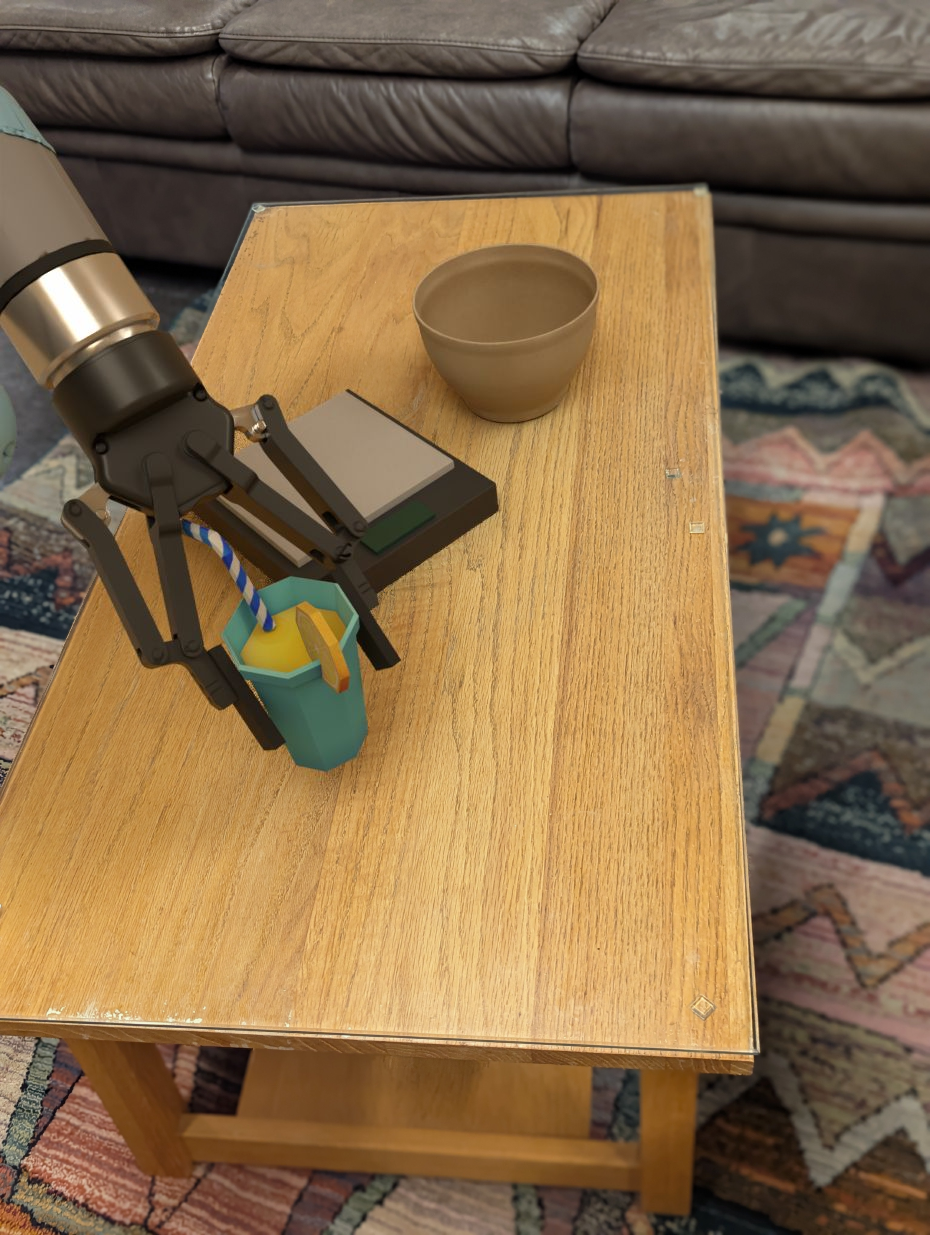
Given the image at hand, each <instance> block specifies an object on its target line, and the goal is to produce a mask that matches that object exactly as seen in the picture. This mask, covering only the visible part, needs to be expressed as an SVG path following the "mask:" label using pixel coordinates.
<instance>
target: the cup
mask: <svg viewBox="0 0 930 1235" xmlns="http://www.w3.org/2000/svg"><path fill="white" fill-rule="evenodd" d="M180 521H181V528H182V529H181V534H182V536H183V535H184V536H186V537H188V538H190V539H192V540H195V541H197V542H199V543H201V544H204V545H206V546H208V547H210V548H211V549H213V550H214V552H215V553H216V554H218V556H219V557H220V559H221V561H222V563H223V564H224V566H225V568H226V570H227V571H228V572H229V574H230V576H231V578H232V579H233V581H234V582H235V584H236V586H237V588H238V590H239V591H240V593H241V594H242V597H241V600H240V601H239V603H238V605H237V607H236V608H235V610H234V611H233V613H232V615H231V617H230V618H229V620H228V621H227V623H226V625H225V627H224V628H223V630H222V632H221V634H220V637H221V639H222V640H223V643H224V644H225V646H226V648H227V650H228V652H229V654H230V656H231V659H232V661H233V663H234V664H235V666H236V667H237V669H238V670H239V672H240V673H241V675H242V676H243V678H244V679H245V681H249V682H250V683H251V685H252V687H253V689H254V690H255V692H256V694H257V697H258V698H259V699H260V700H259V701H260V703H261V704H262V706H263V708H264V709H265V711H266V712H267V714H268V715H269V717H270V718H271V720H272V721H273V723H274V724H275V726H276V727H277V729H278V730H279V732H280V733H281V735H282V736H283V738H284V739H285V741H286V743H285V744H284V745H285V748H286V749H287V752H288V753H289V755H290V757H291V759H292V761H293V763H294V764H295V766H297V767H301V768H307V769H310V770H311V769H312V770H314V771H315V770H316V771H321V772H325V773H327V772H329V771H332V770H334V769H335V768H337V767H339V766H341V765H344V764H346V763H348V762H350V761H352V760H354V759H357V757H358V755H359V753H360V750H361V749H362V747H363V744H364V742H365V739H366V737H367V735H368V733H369V727H368V719H367V718H368V717H367V711H366V703H365V694H364V686H363V679H362V673H361V672H362V671H361V665H360V664H361V663H360V657H359V647H358V642H357V640H356V634H357V632H358V630H359V616H358V614H357V612H356V611H355V609H354V608H353V606H352V605H351V603H350V602H349V600H348V599H347V597H346V596H345V594H344V592H343V591H342V589H341V588H340V586H339V585H338V584H336V583H330V582H324V581H317V580H311V579H305V578H298V577H292V576H290V577H288V578H285V579H283V580H281V581H278V582H276V583H275V582H273V583H271V584H269V585H267V586H264V587H262V588H259V589H258V590H256V588H255V586H254V585H253V582H252V581H251V579H250V578H249V576H248V573H246V570H245V569H244V568H243V566H242V564H241V562H240V560H239V559H238V557H237V556H236V554H235V552H234V550H233V548H232V546H230V544H229V543H228V542H227V541H226V540H225V539H224V538H223V537H221V536H220V534H218V533H217V532H216V531H214V530H213V529H210V528H208V527H205V526H202V525H200V524H198V523H196V522H192V521H190V520H187V519H185V518H181V519H180Z"/></svg>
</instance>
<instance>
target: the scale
mask: <svg viewBox="0 0 930 1235" xmlns="http://www.w3.org/2000/svg"><path fill="white" fill-rule="evenodd" d="M286 424H287V426H288V429H289V430H290V431H291V432H292V433H293V435H294V436H295V437H296V438H297V439H298V440H299V442H300V443H301V444H302V445H303V446H304V448H305V449H306V450H307V451H308V452H309V453H310V455H311V456H312V457H313V458H314V459H315V461H316V462H317V463H318V464H319V465H320V466H321V468H322V469H323V470H324V471H325V472H326V474H327V475H328V476H329V477H330V478H331V479H332V481H333V482H334V483H335V484H336V485H337V486H338V488H339V489H340V490H341V491H342V492H343V494H344V495H345V496H346V497H347V498H348V499H349V501H350V502H351V503H352V504H353V505H354V507H355V508H356V509H357V510H358V511H359V512H360V514H361V515H362V516H363V517H364V518H365V519H366V521H367V522H368V525H369V530H368V532H367V534H366V535H364V536H363V538H362V539H361V540H360V542H359V543H358V544H357V546H356V547H355V553H354V555H353V556H354V560H355V562H356V564H357V565H358V567H359V568H360V570H361V571H362V573H363V574H364V576H365V578H366V579H367V581H368V582H369V584H370V585H371V587H372V588H373V590H374V591H375V593H376V595H377V594H379V593H380V592H381V591H383V590H385V589H386V588H387V587H389V586H390V585H392V584H393V583H395V582H396V581H398V580H399V579H400V578H402V577H404V576H406V574H408V573H409V572H411V571H412V570H414V569H415V568H417V567H418V566H420V565H421V564H422V563H424V562H425V561H427V560H429V559H430V558H431V557H433V556H434V555H436V554H437V553H439V552H440V551H442V550H444V549H445V548H446V547H447V546H449V545H450V544H452V543H453V542H455V541H456V540H458V539H459V538H461V537H462V536H464V535H465V534H467V533H468V532H470V531H471V530H472V529H474V528H476V527H477V526H478V525H480V524H481V523H483V522H484V521H486V520H488V519H489V518H490V517H491V516H493V515H494V514H496V513H497V512H499V511H500V508H499V500H498V490H497V483H496V482H495V481H493V480H492V479H491V478H489V477H487V476H486V475H484V474H482V473H481V472H479V471H478V470H476V469H474V468H473V467H471V466H470V465H469V464H467V463H466V462H464V461H463V460H461V459H459V458H457V457H456V456H454V455H453V454H451V453H450V452H448V451H446V450H445V449H444V448H442V447H440V446H439V445H437V444H435V443H434V442H432V441H431V440H429V439H428V438H426V437H424V436H423V435H422V434H420V433H419V432H417V431H416V430H414V429H412V428H410V427H409V426H408V425H406V424H405V423H402V422H401V421H400V420H398V419H396V418H395V417H393V416H392V415H390V414H389V413H387V412H386V411H384V410H382V409H381V408H379V407H378V406H376V405H374V404H373V403H371V402H370V401H368V400H367V399H366V398H363V397H362V396H360V395H359V394H358V393H356V392H354V391H353V390H351V389H350V388H347V389H345V390H343V391H341V392H339V393H337V394H336V395H334V396H332V397H331V398H329V399H327V400H326V401H323V402H322V403H320V404H318V405H317V406H314V407H312V408H311V409H309V410H308V411H306V412H304V413H303V414H301V415H299V416H298V417H296V418H294V419H292V420H290V421H289V422H286ZM234 457H235V458H237V459H238V460H239V461H241V462H242V463H244V464H245V465H246V466H248V467H249V468H250V469H252V470H253V471H254V472H255V473H256V474H257V476H258V478H259V479H260V480H261V481H263V482H264V483H266V484H267V485H268V486H270V487H271V488H272V489H274V490H275V491H276V492H278V493H279V494H280V495H282V496H283V497H284V498H286V499H287V500H288V501H290V502H291V503H293V504H294V505H295V506H297V507H298V508H299V509H301V510H302V511H303V512H305V513H306V514H307V515H309V516H310V517H311V518H313V519H314V520H315V521H317V522H318V523H320V524H321V525H322V526H324V527H325V528H326V529H328V530H329V531H330V532H332V531H331V530H330V529H329V528H328V527H327V526H326V524H325V523H324V522H323V521H322V520H321V519H320V517H319V516H318V515H317V514H316V513H315V512H314V510H313V509H312V508H311V507H310V506H309V505H308V503H307V502H306V501H305V500H304V499H303V498H302V496H301V495H300V494H299V493H298V492H297V491H296V489H295V488H294V487H293V486H292V485H291V484H290V482H289V481H288V480H287V479H286V478H285V477H284V475H283V474H282V473H281V472H280V471H279V470H278V468H277V467H276V466H275V465H274V464H273V463H272V461H271V460H270V459H269V458H268V457H267V455H266V454H265V453H264V451H263V450H262V448H261V446H260V444H259V442H258V443H254V442H251V443H250V444H249V445H246V446H245V447H243V448H242V449H239V450H238V451H236V452H234ZM190 512H192V513H194V515H196V516H197V517H198V518H199V519H200V520H201V521H202V522H204V523H205V524H206V525H207V526H208V527H210V528H211V530H213V531H216V532H217V533H218V534H220V536H221V537H222V538H223V539H224V540H225V541H226V543H227V544H228V545H231V547H233V548H234V549H235V550H236V551H237V552H238V553H240V554H241V555H242V556H243V557H244V558H246V559H247V560H248V561H249V562H250V563H251V564H253V565H254V567H256V568H257V569H258V570H260V572H262V573H263V574H264V575H265V576H267V577H268V578H269V579H270V580H271V581H272V582H273V583H276V582H278V581H281V580H283V579H285V578H288V577H290V576H292V577H298V578H305V579H311V580H318V579H320V578H321V577H323V576H324V575H326V574H327V573H329V571H328V569H327V568H325V567H323V566H322V565H320V564H319V563H318V562H316V561H315V560H314V559H312V558H311V557H309V556H308V555H307V554H305V553H304V552H303V551H301V550H300V549H298V548H297V547H296V546H294V545H293V544H292V543H290V542H289V541H287V540H286V539H285V538H283V537H282V536H281V535H279V534H278V533H276V532H275V531H274V530H272V529H271V528H270V527H268V526H267V525H265V524H264V523H263V522H261V521H260V520H259V519H257V518H256V517H254V516H253V515H252V514H250V513H249V512H248V511H246V510H245V509H244V508H242V507H241V506H239V505H237V504H234V503H231V502H230V501H228V500H227V499H225V498H224V497H223V496H221V495H220V496H219V497H217V498H215V499H213V500H212V501H210V502H206V503H202V504H199V505H196V506H195V507H194V508H193V509H192V510H191V511H190Z"/></svg>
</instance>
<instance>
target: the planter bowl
mask: <svg viewBox="0 0 930 1235" xmlns="http://www.w3.org/2000/svg"><path fill="white" fill-rule="evenodd" d="M599 296H600V279H599V275H598V274H597V272H596V270H595V268H594V267H593V266H592V264H590V263H589V262H588V261H587V260H586V259H584V258H583V257H581V256H580V255H578V254H576V253H575V252H572V251H570V250H568V249H565V248H562V247H558V246H555V245H548V244H545V243H544V244H543V243H537V242H536V243H535V242H505V243H504V242H503V243H496V244H489V245H484V246H480V247H475V248H471V249H469V250H465V251H463V252H461V253H458V254H455V255H454V256H450V257H449V258H447V259H445V260H443V261H441V262H440V263H437V264H436V265H434V266H433V267H432V268H431V269H429V270H428V271H427V272H426V273H425V274H424V275H423V276H422V277H421V278H420V279H419V281H418V282H417V283H416V286H415V287H414V290H413V293H412V297H411V308H412V312H413V316H414V319H415V321H416V323H417V326H418V330H419V333H420V337H421V341H422V343H423V346H424V348H425V352H426V354H427V356H428V357H429V359H430V361H431V363H432V365H433V367H435V370H436V371H437V372H438V374H439V375H440V377H441V379H443V381H445V383H446V384H447V385H448V386H449V387H450V388H451V389H452V390H453V391H454V392H455V393H456V394H457V395H458V396H459V397H461V398H462V399H463V401H464V403H465V405H466V406H467V408H468V409H469V411H471V413H473V414H474V415H476V416H478V417H480V418H482V419H484V420H488V421H491V422H498V423H517V422H518V423H519V422H525V421H529V420H534V419H536V418H539V417H541V416H544V415H546V414H547V413H549V412H551V411H552V410H554V409H555V408H556V406H558V405H559V404H560V403H561V402H562V400H563V399H564V396H565V394H566V391H567V386H569V384H570V383H571V382H572V381H573V379H574V378H575V376H576V375H577V373H578V371H579V370H580V368H581V366H582V365H583V363H584V361H585V359H586V357H587V354H588V352H589V349H590V346H591V343H592V340H593V337H594V332H595V326H596V319H597V305H598V302H599Z"/></svg>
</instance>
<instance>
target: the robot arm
mask: <svg viewBox="0 0 930 1235" xmlns="http://www.w3.org/2000/svg"><path fill="white" fill-rule="evenodd" d="M160 320H161V317H160V314H159V313H158V310H156V308H155V307H154V305H153V304H152V303H151V301H150V299H149V298H148V297H147V295H146V293H145V292H144V290H143V289H142V287H141V286H140V285H139V283H138V282H137V280H136V279H135V276H134V275H133V274H132V273H131V271H130V269H129V268H128V267H127V265H126V264H125V262H124V261H123V259H122V258H121V256H120V255H119V254H118V252H117V251H116V249H115V248H114V245H112V243H111V242H110V240H109V239H108V237H107V235H106V234H105V232H104V231H103V229H102V228H101V226H100V225H99V223H98V221H97V219H96V218H95V217H94V214H93V213H92V212H91V210H90V209H89V207H88V205H87V204H86V202H85V200H84V199H83V197H82V195H81V194H80V193H79V191H78V189H77V188H76V187H75V185H74V183H73V181H72V180H71V178H70V177H69V175H68V174H67V172H66V171H65V169H64V168H63V166H62V164H61V162H60V161H59V159H58V154H57V151H55V148H54V147H53V146H52V145H51V144H50V143H49V142H48V141H47V140H46V139H45V138H44V136H43V135H42V134H41V132H40V131H39V129H38V128H37V127H36V125H35V124H34V123H33V122H32V120H31V118H30V117H29V116H28V114H27V113H26V111H25V110H24V109H23V107H21V105H20V104H19V102H17V100H16V99H15V97H14V96H13V95H12V94H11V93H10V92H9V91H8V90H7V89H5V87H3V86H2V85H0V328H1V329H2V330H3V332H4V333H5V335H6V336H7V338H8V340H9V341H10V343H11V344H12V346H13V347H14V349H15V351H16V352H17V353H18V355H19V357H20V358H21V359H22V362H24V364H25V366H26V367H27V369H28V370H29V372H30V373H31V375H32V376H33V378H34V379H35V381H36V382H37V384H38V386H40V387H41V388H43V389H47V390H52V394H51V405H52V407H53V408H54V409H55V411H56V413H57V415H59V417H60V418H61V420H62V422H63V423H64V425H65V426H66V428H67V429H68V431H69V432H70V433H71V435H72V436H73V438H74V439H75V441H76V442H77V444H78V445H79V447H80V449H81V450H82V452H83V453H84V454H85V456H86V458H87V460H88V461H89V463H90V464H91V467H92V470H93V479H94V480H93V481H94V484H93V485H92V486H90V487H89V488H88V489H87V490H86V491H85V492H84V493H82V494H81V495H80V496H79V497H78V498H72V499H69V500H67V501H65V503H64V504H63V508H62V511H61V514H60V519H59V520H60V524H61V525H62V527H63V528H64V530H66V531H67V532H69V534H70V535H71V536H72V537H73V538H74V539H75V540H77V542H79V544H80V545H81V546H82V547H84V549H85V550H86V552H87V553H88V556H89V558H90V560H91V562H92V564H93V566H94V569H95V571H96V573H97V574H98V577H99V578H100V581H101V583H102V585H103V587H104V589H105V592H106V594H107V595H108V597H109V600H110V601H111V604H112V605H113V609H114V610H115V612H116V614H117V616H118V618H119V620H120V622H121V625H122V627H123V629H124V631H125V633H126V635H127V637H128V639H129V641H130V643H131V645H132V647H133V650H134V651H135V654H136V656H137V658H138V660H139V663H140V664H141V665H142V667H144V668H145V669H148V670H154V669H158V668H162V667H166V666H171V665H180V666H181V667H183V668H184V669H186V671H187V672H188V673H189V675H190V676H191V678H192V679H193V681H194V682H195V684H196V685H197V686H198V688H199V690H200V691H201V693H202V695H203V696H204V697H205V699H206V700H207V701H208V703H209V704H210V706H211V707H213V708H215V709H216V710H217V711H218V712H219V711H223V710H226V709H227V708H229V707H230V706H233V707H234V709H235V710H236V711H237V713H238V714H239V716H240V717H241V719H242V721H243V722H244V724H245V726H246V727H247V728H248V729H249V731H250V733H251V734H252V736H253V737H254V738H255V740H256V741H257V743H258V744H259V746H260V747H261V749H262V750H263V752H264V751H265V752H267V751H276V750H278V749H279V748H280V747H282V746H283V745H285V743H286V741H285V739H284V738H283V736H282V735H281V733H280V732H279V730H278V729H277V727H276V726H275V724H274V723H273V721H272V720H271V718H270V716H269V714H268V713H267V711H266V709H265V707H264V705H263V704H262V702H261V701H260V700H259V699H258V696H256V694H255V692H254V690H252V687H250V684H248V682H247V680H245V679H244V678H243V676H242V675H241V673H240V671H239V670H238V668H237V666H236V664H235V662H234V660H233V659H232V657H230V655H229V654H228V651H227V650H226V649H225V648H224V647H223V645H222V643H219V644H216V645H215V646H213V647H211V648H210V649H208V650H207V648H206V647H205V643H204V638H203V637H204V636H203V632H202V627H201V623H200V618H199V613H198V608H197V603H196V599H195V598H196V597H195V593H194V588H193V584H192V579H191V574H190V569H189V564H188V560H187V555H186V550H185V544H184V540H183V534H181V529H182V528H181V521H180V520H181V519H183V518H184V517H186V516H187V515H188V514H189V513H190V512H192V511H191V510H192V509H193V508H194V507H195V506H196V505H199V504H202V503H206V502H210V501H212V500H213V499H215V498H217V497H219V496H220V495H221V496H223V497H224V498H225V499H227V500H228V501H230V502H231V503H234V504H237V505H239V506H241V507H242V508H244V509H245V510H246V511H248V512H249V513H250V514H252V515H253V516H254V517H256V518H257V519H259V520H260V521H261V522H263V523H264V524H265V525H267V526H268V527H270V528H271V529H272V530H274V531H275V532H276V533H278V534H279V535H281V536H282V537H283V538H285V539H286V540H287V541H289V542H290V543H292V544H293V545H294V546H296V547H297V548H298V549H300V550H301V551H303V552H304V553H305V554H307V555H308V556H309V557H311V558H312V559H314V560H315V561H316V562H318V563H319V564H320V565H322V566H323V567H325V568H327V569H328V571H329V573H327V574H326V575H324V576H323V577H321V578H320V579H318V580H317V581H324V582H330V583H336V584H338V585H339V586H340V588H341V589H342V591H343V592H344V594H345V596H346V597H347V599H348V600H349V602H350V603H351V605H352V606H353V608H354V609H355V611H356V612H357V614H358V616H359V630H358V632H357V634H356V640H357V645H358V646H359V647H360V649H361V650H362V652H363V653H364V655H365V657H366V658H367V660H368V661H369V663H370V664H371V665H372V667H373V668H374V670H375V671H376V672H380V671H383V670H387V669H391V668H393V667H394V666H396V665H397V664H398V663H400V662H401V661H402V659H401V658H400V655H399V654H398V653H397V651H396V650H395V647H394V646H393V645H392V643H391V642H390V640H389V638H388V637H387V635H386V634H385V632H384V631H383V629H382V628H381V626H380V625H379V623H378V622H377V620H376V618H375V617H374V615H373V614H372V612H371V611H372V610H373V609H375V608H376V607H378V606H379V605H380V602H379V597H378V595H377V594H376V593H375V591H374V590H373V588H372V587H371V585H370V584H369V582H368V581H367V579H366V578H365V576H364V574H363V573H362V571H361V570H360V568H359V567H358V565H357V564H356V562H355V560H354V556H353V555H354V553H355V547H356V546H357V544H358V543H359V542H360V540H361V539H362V538H363V536H364V535H366V534H367V532H368V530H369V525H368V522H367V521H366V519H365V518H364V517H363V516H362V515H361V514H360V512H359V511H358V510H357V509H356V508H355V507H354V505H353V504H352V503H351V502H350V501H349V499H348V498H347V497H346V496H345V495H344V494H343V492H342V491H341V490H340V489H339V488H338V486H337V485H336V484H335V483H334V482H333V481H332V479H331V478H330V477H329V476H328V475H327V474H326V472H325V471H324V470H323V469H322V468H321V466H320V465H319V464H318V463H317V462H316V461H315V459H314V458H313V457H312V456H311V455H310V453H309V452H308V451H307V450H306V449H305V448H304V446H303V445H302V444H301V443H300V442H299V440H298V439H297V438H296V437H295V436H294V435H293V433H292V432H291V431H290V430H289V429H288V426H287V422H286V419H285V416H284V414H283V411H282V409H281V406H280V404H279V402H278V400H277V398H276V397H275V396H273V395H272V394H268V393H267V394H265V393H264V394H261V395H260V396H259V398H258V399H257V400H256V401H255V402H254V403H250V404H247V405H244V406H240V407H237V408H233V409H229V408H227V407H226V406H225V405H223V404H221V403H219V402H218V401H217V400H215V399H214V398H213V396H212V395H210V394H209V392H208V390H207V388H206V387H205V385H204V383H203V381H202V380H201V378H200V377H199V375H198V374H197V372H196V370H194V367H193V366H192V365H191V363H190V361H189V360H188V359H187V357H186V355H185V354H184V352H183V350H182V349H181V348H180V346H179V345H178V343H177V341H176V340H175V338H174V337H173V335H172V334H171V333H170V332H165V331H164V330H162V329H158V327H159V325H160ZM236 432H240V433H242V434H243V435H244V436H245V437H246V439H247V440H248V441H249V442H251V443H258V442H259V444H260V446H261V448H262V450H263V451H264V453H265V454H266V455H267V457H268V458H269V459H270V460H271V461H272V463H273V464H274V465H275V466H276V467H277V468H278V470H279V471H280V472H281V473H282V474H283V475H284V477H285V478H286V479H287V480H288V481H289V482H290V484H291V485H292V486H293V487H294V488H295V489H296V491H297V492H298V493H299V494H300V495H301V496H302V498H303V499H304V500H305V501H306V502H307V503H308V505H309V506H310V507H311V508H312V509H313V510H314V512H315V513H316V514H317V515H318V516H319V517H320V519H321V520H322V521H323V522H324V523H325V524H326V526H327V527H328V528H329V529H330V530H331V531H332V532H330V531H329V530H328V529H326V528H325V527H324V526H322V525H321V524H320V523H318V522H317V521H315V520H314V519H313V518H311V517H310V516H309V515H307V514H306V513H305V512H303V511H302V510H301V509H299V508H298V507H297V506H295V505H294V504H293V503H291V502H290V501H288V500H287V499H286V498H284V497H283V496H282V495H280V494H279V493H278V492H276V491H275V490H274V489H272V488H271V487H270V486H268V485H267V484H266V483H264V482H263V481H261V480H260V479H259V478H258V476H257V474H256V473H255V472H254V471H253V470H252V469H250V468H249V467H248V466H246V465H245V464H244V463H242V462H241V461H239V460H238V459H237V458H235V457H234V454H235V438H236ZM17 436H18V425H17V415H16V411H15V408H14V405H13V403H12V401H11V399H10V396H9V394H8V393H7V391H6V389H5V388H4V386H3V385H2V383H1V382H0V480H1V479H2V478H3V476H4V475H5V474H6V472H7V470H8V468H9V466H10V464H11V463H12V460H13V456H14V453H15V451H16V449H18V446H17V439H18V437H17ZM109 500H110V501H113V502H115V503H117V504H120V505H122V506H124V507H126V508H130V509H132V510H134V511H137V512H138V513H141V514H143V515H144V517H145V520H146V521H145V522H146V527H147V531H148V537H149V541H150V542H151V545H152V549H153V554H154V559H155V564H156V568H157V573H158V578H159V584H160V588H161V593H162V597H163V602H164V608H165V613H166V617H167V621H168V622H167V623H168V627H169V633H170V637H171V640H167V641H164V638H163V636H162V634H161V631H160V630H159V627H158V626H157V624H156V621H155V620H154V617H153V615H152V612H151V611H150V609H149V607H148V605H147V603H146V601H145V598H144V596H143V594H142V592H141V589H140V588H139V586H138V584H137V582H136V580H135V578H134V576H133V572H132V570H131V569H130V567H129V565H128V563H127V561H126V558H125V557H124V555H123V552H122V550H121V548H120V545H119V544H118V542H117V539H116V538H115V536H114V534H113V532H112V531H111V530H110V528H109V525H110V524H111V521H112V514H111V512H110V511H109V509H108V505H107V504H108V503H107V502H108V501H109Z"/></svg>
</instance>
